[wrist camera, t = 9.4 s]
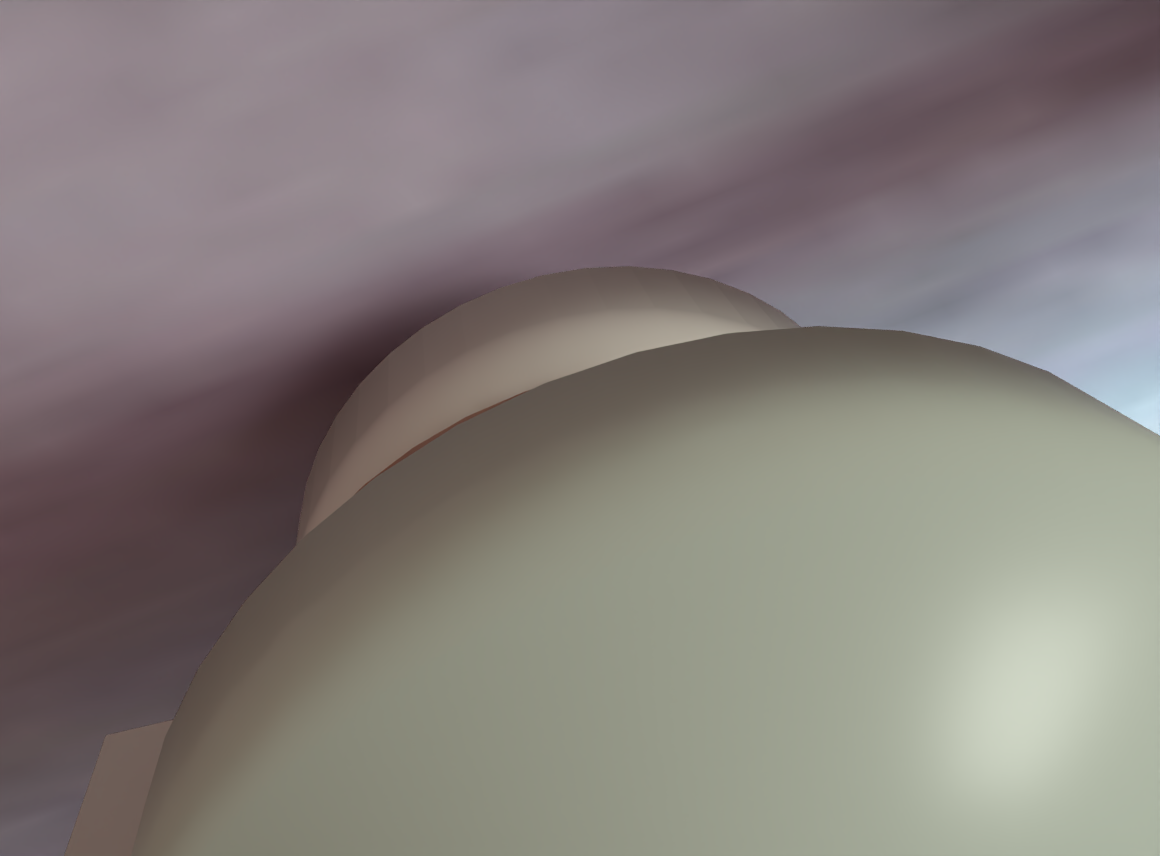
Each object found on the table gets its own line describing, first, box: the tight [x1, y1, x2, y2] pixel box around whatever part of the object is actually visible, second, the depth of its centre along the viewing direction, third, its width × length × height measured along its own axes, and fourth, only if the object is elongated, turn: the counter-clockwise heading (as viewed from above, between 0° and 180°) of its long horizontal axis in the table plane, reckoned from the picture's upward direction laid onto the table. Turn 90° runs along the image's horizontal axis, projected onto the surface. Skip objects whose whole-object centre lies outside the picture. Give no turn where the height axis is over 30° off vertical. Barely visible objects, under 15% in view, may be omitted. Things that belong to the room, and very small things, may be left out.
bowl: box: [296, 266, 801, 545], centre depth 14 cm, size 10×10×6 cm
